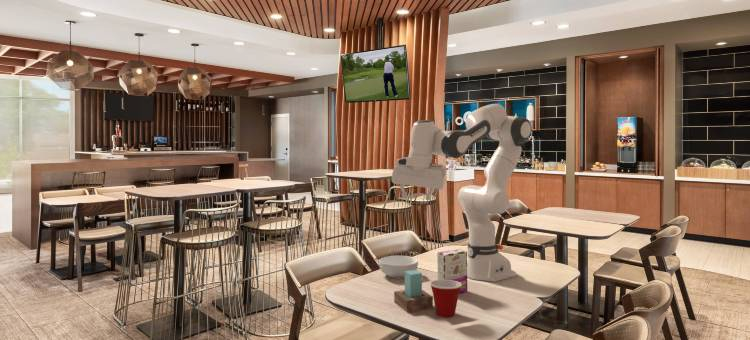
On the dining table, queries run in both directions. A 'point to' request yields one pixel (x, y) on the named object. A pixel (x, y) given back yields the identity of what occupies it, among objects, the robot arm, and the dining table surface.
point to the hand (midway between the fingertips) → (415, 198)
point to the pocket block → (413, 301)
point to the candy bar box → (453, 267)
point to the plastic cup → (445, 296)
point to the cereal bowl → (397, 265)
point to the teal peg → (413, 283)
